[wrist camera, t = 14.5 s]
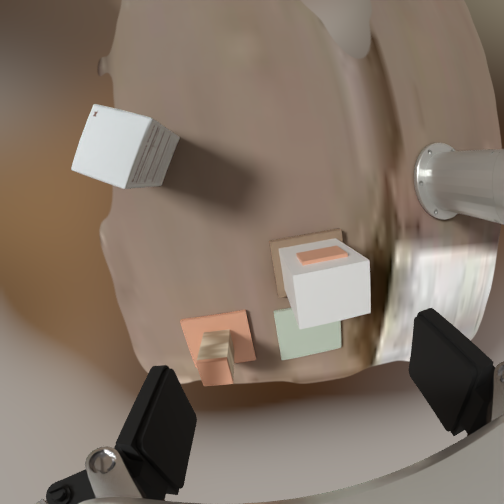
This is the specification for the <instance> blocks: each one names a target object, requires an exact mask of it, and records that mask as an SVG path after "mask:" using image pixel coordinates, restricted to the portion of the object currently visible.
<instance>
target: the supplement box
mask: <svg viewBox="0 0 504 504" xmlns="http://www.w3.org/2000/svg"><path fill="white" fill-rule="evenodd" d="M179 138H180V137H179V136H177V135H176V134H174V133H173V132H171V131H170V130H169V129H167V128H166V127H164V126H163V125H162V124H160V123H159V122H157V121H156V120H154V119H152V118H150V117H147V116H143V115H139V114H135V113H131V112H127V111H124V110H120V109H115V108H110V107H106V106H101V105H97V104H94V105H93V108H92V110H91V113H90V115H89V117H88V120H87V123H86V125H85V128H84V131H83V134H82V136H81V139H80V142H79V145H78V148H77V151H76V154H75V158H74V161H73V164H72V170H73V171H75V172H78V173H81V174H83V175H86V176H89V177H91V178H94V179H97V180H100V181H103V182H106V183H108V184H111V185H114V186H117V187H120V188H123V189H131V188H143V187H155V186H161V185H162V183H163V180H164V177H165V174H166V172H167V169H168V166H169V164H170V161H171V158H172V156H173V153H174V151H175V148H176V146H177V143H178V141H179Z"/></svg>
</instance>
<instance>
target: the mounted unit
mask: <svg viewBox="0 0 504 504" xmlns="http://www.w3.org/2000/svg"><path fill="white" fill-rule="evenodd" d="M269 244H270V250H271V256H272V262H273V268H274V274H275V280H276V286H277V292H278V297H279V298H281V297H286V296H287V297H288V300H289V302H290V305H291V308H292V310H293V313H294V316H295V319H296V321H297V324H298V327H299V329H305V328H309V327H314V326H319V325H323V324H327V323H332V322H336V321H340V320H344V319H348V318H352V317H356V316H360V315H364V314H368V313H371V293H370V261H369V260H368V259H367V258H365V257H364V256H362V255H361V254H359V253H358V252H356V251H355V250H353V249H352V248H350V247H349V246H347V245H345V244H344V243H343V239H342V230H341V229H333V230H327V231H321V232H316V233H310V234H304V235H299V236H293V237H288V238H282V239H276V240H271V241H269Z"/></svg>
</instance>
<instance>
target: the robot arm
mask: <svg viewBox="0 0 504 504" xmlns="http://www.w3.org/2000/svg"><path fill="white" fill-rule="evenodd" d="M414 184H415V190H416V194H417V197H418V200H419V202H420V203H421V205H422V207H423V208H424V210H425V211H426V212H427V213H428V214H430V215H431V216H433V217H435V218H438V219H443V220H446V219H450V218H453V217H454V216H456V215H457V214H458V213H459V214H463V215H467V216H472V217H476V218H480V219H484V220H488V221H492V222H496V223H500V224H504V149H488V150H466V151H456V150H455V149H453V148H452V147H451V146H449V145H447V144H444V143H434V144H430V145H428V146H427V147H425V148H424V149H423V150H422V151H421V153H420V155H419V156H418V159H417V161H416V165H415V170H414ZM409 374H410V377H411V378H412V380H413V381H414V383H415V384H416V386H417V387H418V388H419V390H420V391H421V393H422V394H423V396H424V397H425V399H426V400H427V402H428V403H429V405H430V406H431V408H432V409H433V411H434V412H435V414H436V415H437V417H438V418H439V420H440V422H441V423H442V425H443V426H444V428H445V429H446V430H447V431H451V433H452V434H453V436H455V435H457V434H458V433H460V432H462V431H463V430H466V432H467V437H465V438H464V439H462V440H460V441H458V442H457V443H455V444H453V445H451V446H449V447H448V448H446V449H444V450H442V451H440V452H438V453H436V454H434V455H432V456H430V457H428V458H426V459H424V460H422V461H419V462H417V463H415V464H413V465H410V466H408V467H406V468H403V469H401V470H398V471H396V472H393V473H391V474H388V475H385V476H382V477H379V478H377V479H374V480H371V481H368V482H365V483H361V484H358V485H355V486H351V487H347V488H343V489H340V490H336V491H332V492H327V493H322V494H317V495H313V496H307V497H301V498H296V499H289V500H280V501H272V502H261V503H245V504H504V362H501V363H500V364H498V365H497V366H496V368H495V367H494V366H493V361H492V360H491V359H490V358H489V357H487V356H486V355H485V354H484V353H483V352H482V351H481V350H480V349H479V348H478V347H477V346H476V345H474V344H473V343H472V342H471V341H470V340H469V339H468V338H467V337H466V336H464V335H463V334H462V333H461V332H460V331H459V330H458V329H456V328H455V327H454V326H453V325H452V324H451V323H449V322H448V321H447V320H446V319H445V318H444V317H442V316H441V315H440V314H439V313H438V312H436V311H435V310H434V309H432V308H429V309H426V310H424V311H421V312H419V313H418V315H417V317H415V319H414V329H413V340H412V349H411V357H410V364H409ZM196 422H197V419H196V414H195V412H194V410H193V408H192V406H191V405H190V403H189V401H188V399H187V397H186V395H185V393H184V391H183V389H182V387H181V385H180V383H179V380H178V378H177V376H176V374H175V372H174V370H173V369H169V367H168V366H166V365H164V366H153V367H152V368H151V370H150V372H149V374H148V376H147V378H146V380H145V382H144V384H143V386H142V388H141V390H140V392H139V394H138V396H137V398H136V401H135V402H134V405H133V407H132V409H131V411H130V413H129V415H128V417H127V419H126V422H125V424H124V426H123V428H122V430H121V432H120V435H119V437H118V439H117V441H116V445H115V448H111V447H100V448H97V449H95V450H94V451H92V452H91V453H90V454H89V455H88V457H87V458H86V462H85V467H86V469H85V470H83V471H81V472H79V473H77V474H74V475H72V476H70V477H67V478H65V479H63V480H60V481H58V482H55V483H54V484H52V485H51V486H50V487H49V489H48V490H47V494H46V499H47V500H46V501H45V500H44V499H41V500H40V501H39V502H37V503H36V504H199V503H182V502H170V501H165V495H166V494H175V495H178V492H179V488H182V487H183V485H184V481H185V476H186V470H187V466H188V460H189V456H190V451H191V446H192V441H193V437H194V432H195V427H196Z"/></svg>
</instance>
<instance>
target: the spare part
mask: <svg viewBox="0 0 504 504" xmlns="http://www.w3.org/2000/svg"><path fill="white" fill-rule="evenodd" d="M234 353H235V350H234V346H233V342H232V337H231V333H230V329H227V330H220V331H211V332H204V333H203V337H202V341H201V345H200V349H199V353H198V358H197V362H196V365H197V368H198V371H199V374H200V377H201V380H202V382H203V385H204V386H213V385H224V384H233V375H234Z"/></svg>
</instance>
